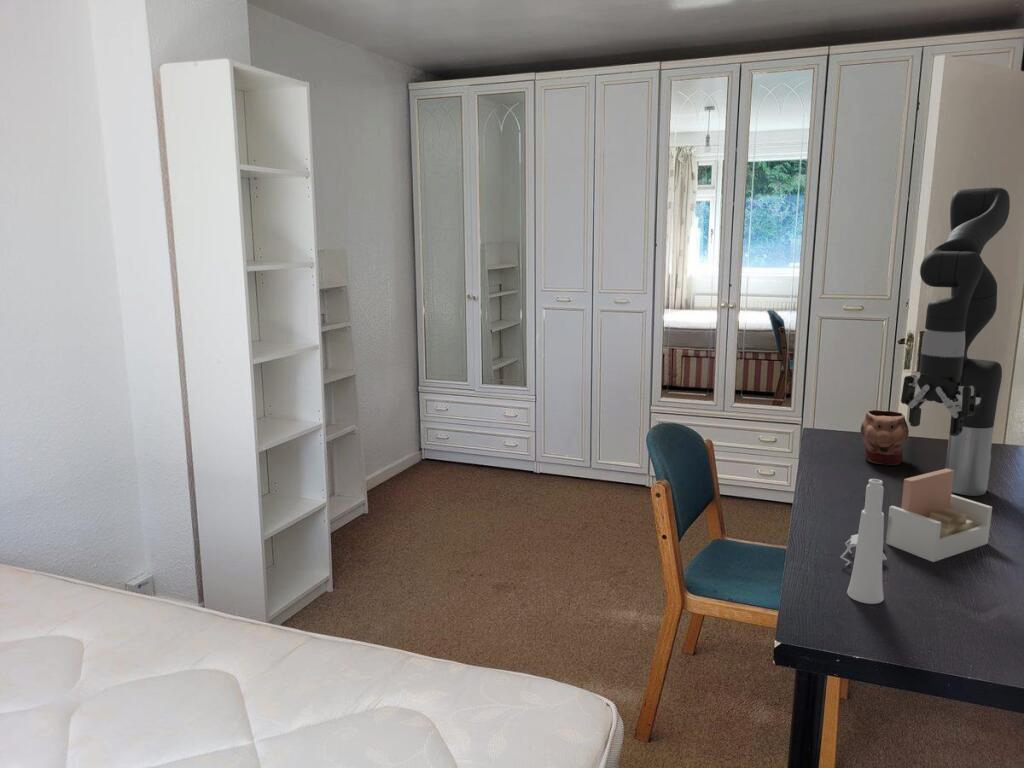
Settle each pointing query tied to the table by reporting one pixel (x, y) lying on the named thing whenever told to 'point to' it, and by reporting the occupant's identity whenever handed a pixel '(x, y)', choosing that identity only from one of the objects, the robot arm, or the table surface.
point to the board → (928, 492)
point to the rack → (938, 531)
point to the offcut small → (949, 518)
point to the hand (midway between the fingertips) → (934, 430)
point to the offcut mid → (956, 529)
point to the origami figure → (854, 544)
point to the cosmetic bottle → (869, 549)
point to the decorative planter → (884, 436)
